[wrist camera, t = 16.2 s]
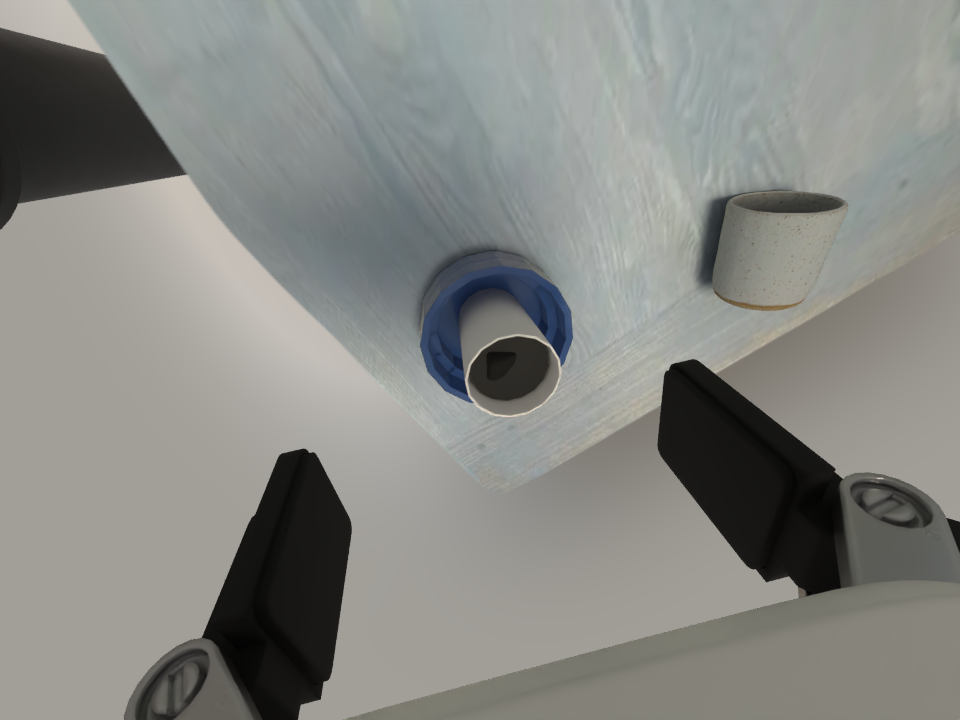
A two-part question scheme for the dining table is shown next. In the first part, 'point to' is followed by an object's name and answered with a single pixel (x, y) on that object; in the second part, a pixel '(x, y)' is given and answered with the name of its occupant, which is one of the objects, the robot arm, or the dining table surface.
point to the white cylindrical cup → (505, 355)
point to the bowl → (466, 280)
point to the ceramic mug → (774, 247)
